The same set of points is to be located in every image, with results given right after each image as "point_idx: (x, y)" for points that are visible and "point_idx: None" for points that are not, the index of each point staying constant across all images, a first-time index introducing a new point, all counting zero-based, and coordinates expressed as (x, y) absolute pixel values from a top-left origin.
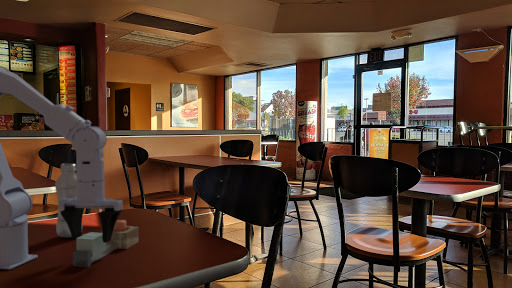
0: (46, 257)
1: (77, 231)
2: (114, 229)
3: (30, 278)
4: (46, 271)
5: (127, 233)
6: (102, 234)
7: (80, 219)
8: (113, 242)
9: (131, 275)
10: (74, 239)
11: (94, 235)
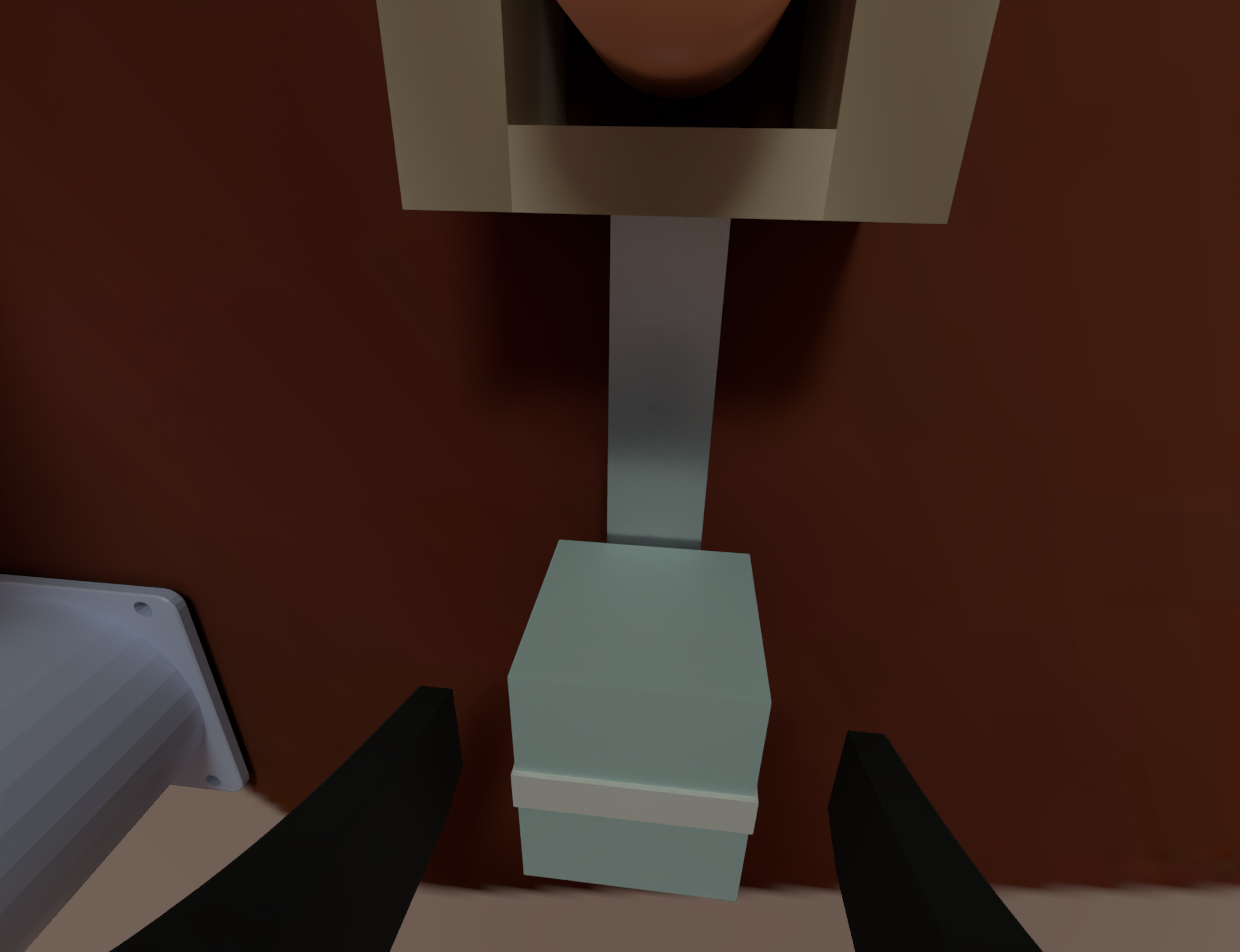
0: (235, 569)
1: (415, 819)
2: (595, 48)
3: (472, 850)
4: (475, 776)
5: (947, 182)
6: (852, 933)
7: (303, 939)
8: (675, 229)
9: (1115, 804)
10: (452, 777)
11: (679, 812)
